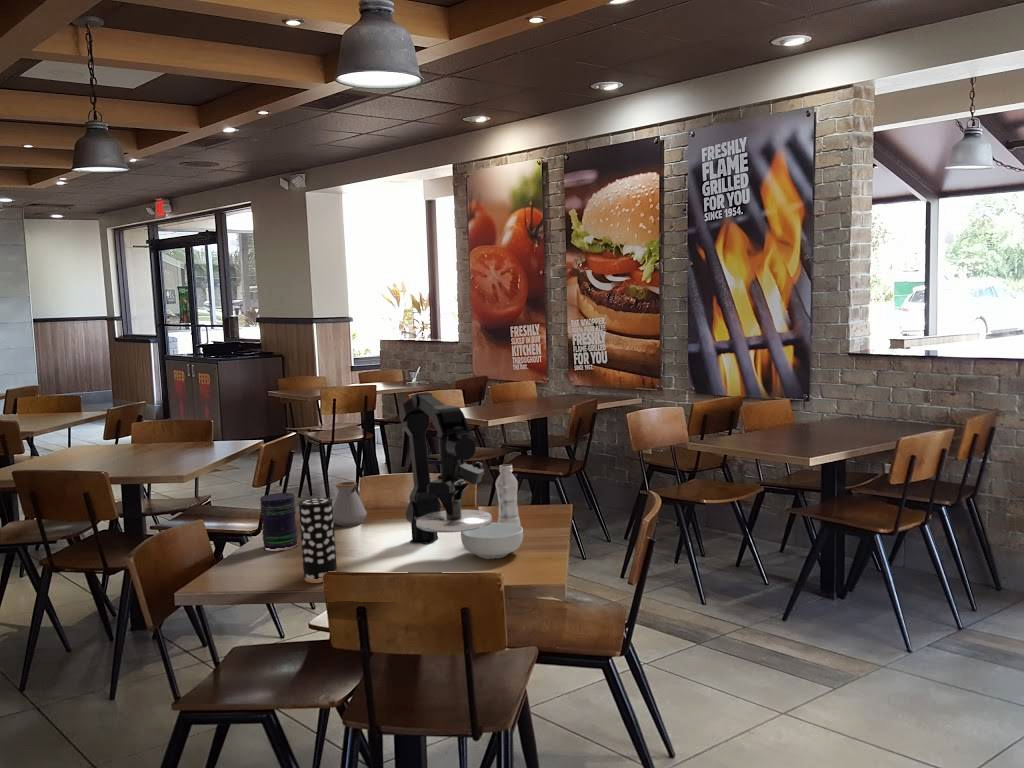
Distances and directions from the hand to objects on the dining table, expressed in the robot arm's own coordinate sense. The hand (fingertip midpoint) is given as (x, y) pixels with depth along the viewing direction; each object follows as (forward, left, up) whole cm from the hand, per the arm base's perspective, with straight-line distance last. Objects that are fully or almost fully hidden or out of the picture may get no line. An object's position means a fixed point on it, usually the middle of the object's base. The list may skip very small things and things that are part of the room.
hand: (453, 513), depth 242 cm
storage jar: (-57, +5, -13) cm, 58 cm away
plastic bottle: (+5, +29, -13) cm, 32 cm away
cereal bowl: (+8, +6, -13) cm, 16 cm away
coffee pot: (-47, +30, -13) cm, 57 cm away
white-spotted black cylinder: (-29, -21, -13) cm, 38 cm away
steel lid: (0, 0, -2) cm, 2 cm away
